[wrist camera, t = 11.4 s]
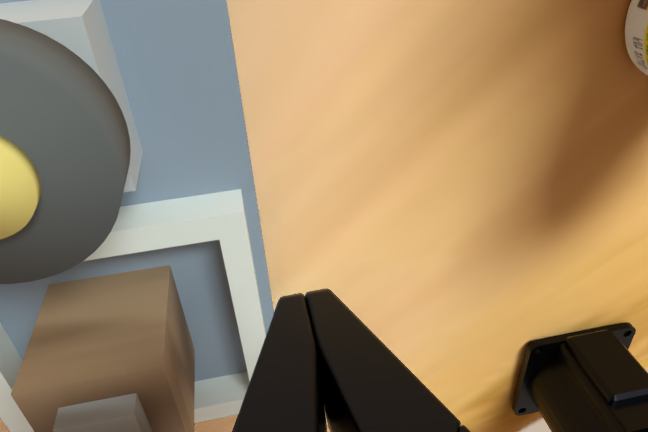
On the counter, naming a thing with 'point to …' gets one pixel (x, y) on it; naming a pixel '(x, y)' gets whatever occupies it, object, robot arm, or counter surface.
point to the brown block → (110, 357)
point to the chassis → (165, 185)
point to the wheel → (55, 157)
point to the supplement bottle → (637, 34)
